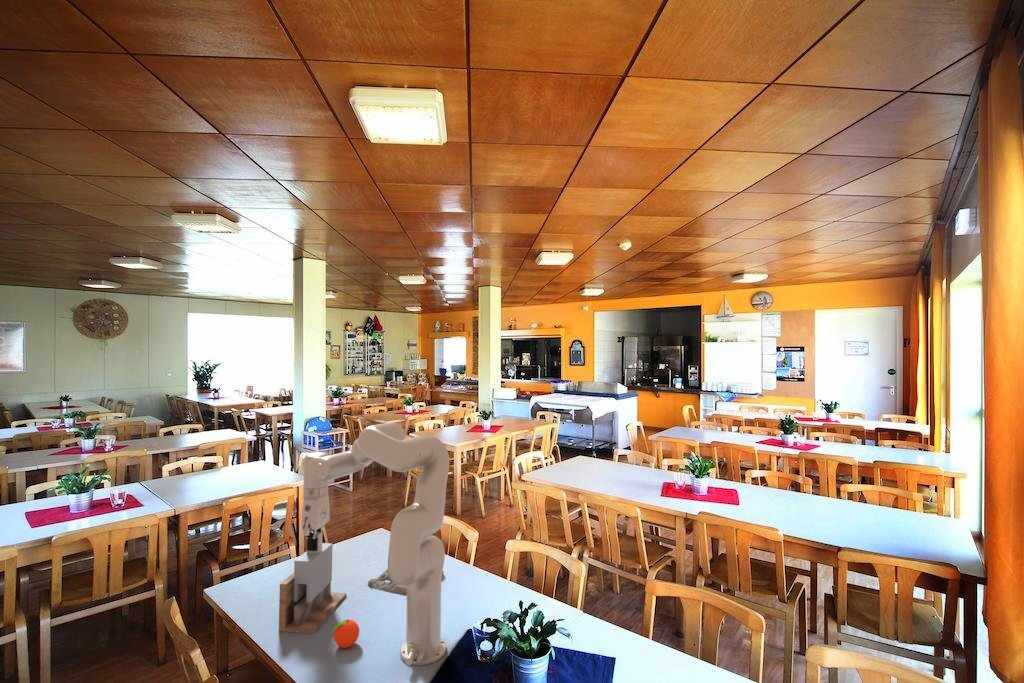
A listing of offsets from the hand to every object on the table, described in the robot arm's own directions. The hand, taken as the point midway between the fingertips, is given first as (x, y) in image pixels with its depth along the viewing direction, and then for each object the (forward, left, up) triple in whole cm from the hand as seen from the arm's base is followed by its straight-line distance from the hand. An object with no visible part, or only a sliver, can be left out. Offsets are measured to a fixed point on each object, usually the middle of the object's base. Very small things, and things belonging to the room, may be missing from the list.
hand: (314, 547), depth 152 cm
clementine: (-16, -18, -21) cm, 32 cm away
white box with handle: (0, 0, -14) cm, 14 cm away
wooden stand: (0, 0, -21) cm, 21 cm away
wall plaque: (+24, -23, -21) cm, 40 cm away
